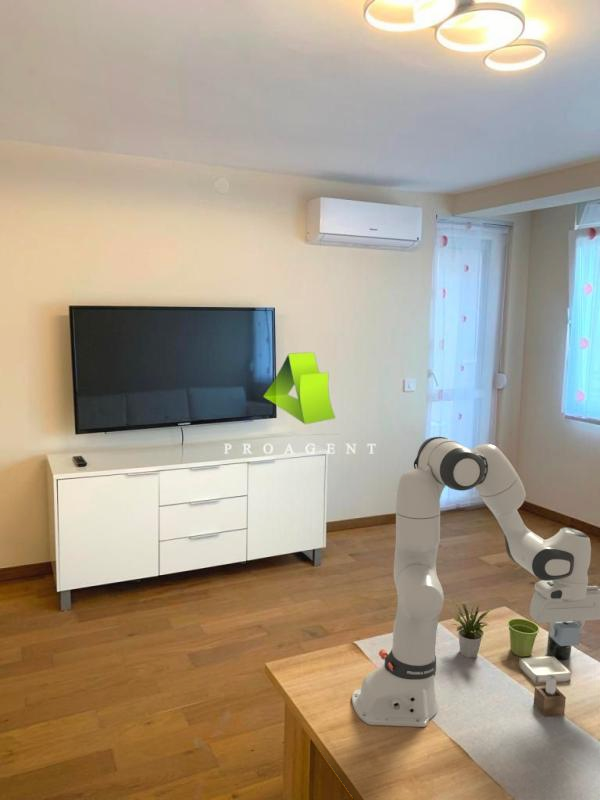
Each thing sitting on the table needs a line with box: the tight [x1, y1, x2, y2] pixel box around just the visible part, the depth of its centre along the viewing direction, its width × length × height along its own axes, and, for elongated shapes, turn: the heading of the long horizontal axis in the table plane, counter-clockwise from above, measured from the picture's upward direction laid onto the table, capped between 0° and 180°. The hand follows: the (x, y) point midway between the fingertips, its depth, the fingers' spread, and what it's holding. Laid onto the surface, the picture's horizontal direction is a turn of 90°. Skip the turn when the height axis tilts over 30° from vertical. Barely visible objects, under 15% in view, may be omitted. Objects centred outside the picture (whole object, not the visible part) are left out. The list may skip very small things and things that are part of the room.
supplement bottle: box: [546, 632, 573, 662], centre depth 194 cm, size 7×7×12 cm
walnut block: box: [533, 685, 567, 718], centre depth 167 cm, size 6×6×5 cm
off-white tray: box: [518, 655, 572, 684], centre depth 185 cm, size 11×9×2 cm
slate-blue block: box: [549, 621, 582, 646], centre depth 174 cm, size 6×6×5 cm
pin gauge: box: [545, 675, 557, 697], centre depth 167 cm, size 2×2×9 cm
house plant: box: [449, 599, 494, 658], centre depth 194 cm, size 14×14×16 cm
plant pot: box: [507, 618, 540, 658], centre depth 196 cm, size 9×9×9 cm
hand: (564, 634), depth 174 cm, fingers closed on slate-blue block, 5 cm apart
